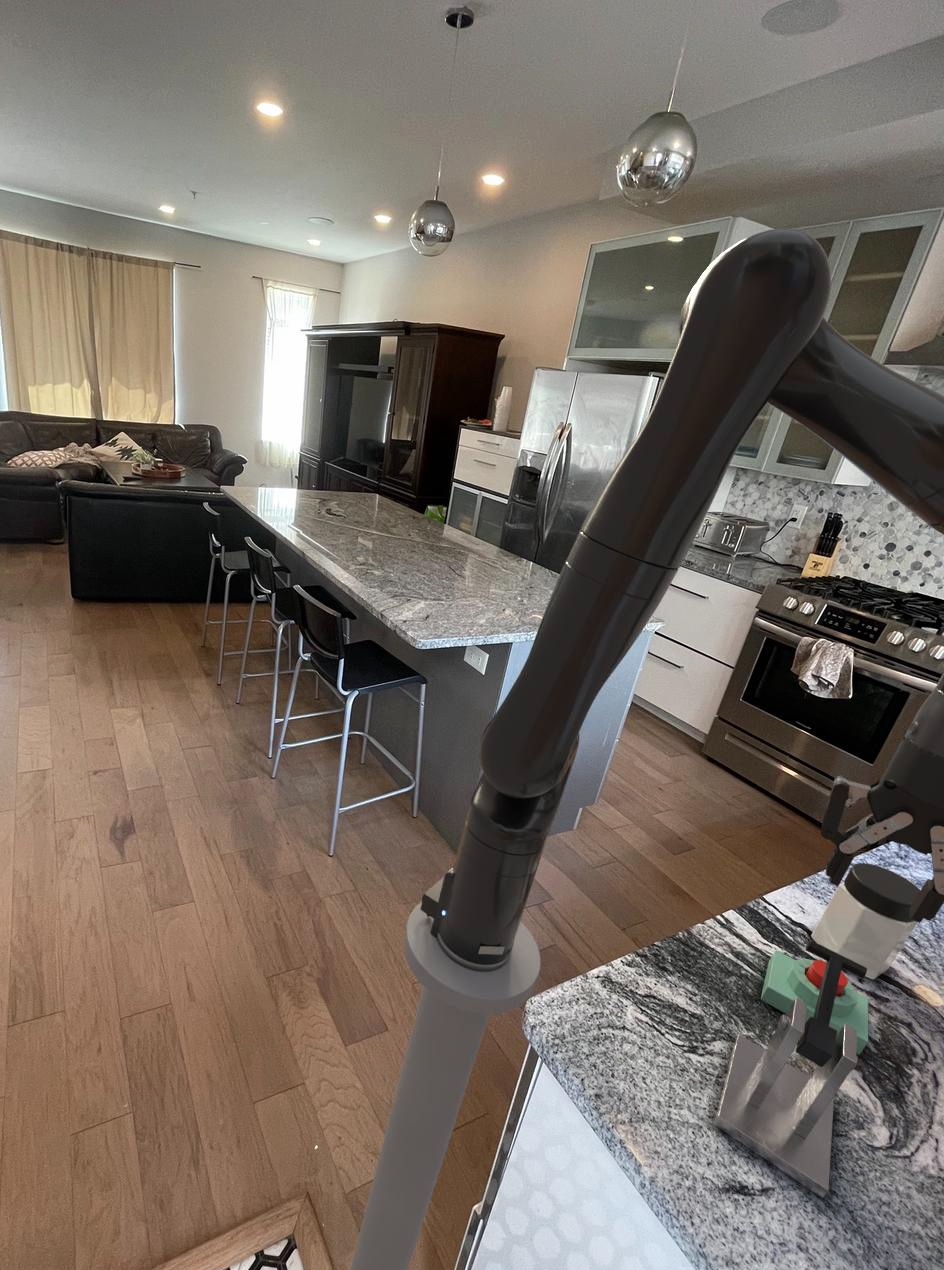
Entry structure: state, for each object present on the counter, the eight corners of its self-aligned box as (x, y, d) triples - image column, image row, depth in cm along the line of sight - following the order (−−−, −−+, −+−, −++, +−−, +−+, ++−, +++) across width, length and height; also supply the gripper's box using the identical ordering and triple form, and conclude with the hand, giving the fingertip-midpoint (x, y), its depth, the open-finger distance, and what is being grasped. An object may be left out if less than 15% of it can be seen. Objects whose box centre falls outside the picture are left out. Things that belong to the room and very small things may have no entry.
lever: (804, 946, 67) (813, 934, 65) (860, 974, 64) (870, 962, 63) (778, 1042, 60) (787, 1030, 58) (840, 1078, 57) (851, 1067, 56)
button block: (760, 999, 75) (773, 975, 74) (768, 962, 81) (780, 938, 80) (859, 1055, 70) (875, 1030, 68) (860, 1010, 76) (875, 986, 75)
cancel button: (805, 983, 74) (811, 972, 73) (807, 965, 77) (813, 954, 76) (840, 1002, 72) (847, 991, 71) (841, 983, 75) (848, 972, 74)
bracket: (734, 1041, 69) (777, 962, 65) (829, 1098, 64) (882, 1017, 60) (713, 1124, 60) (762, 1039, 55) (822, 1198, 55) (885, 1111, 51)
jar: (881, 950, 87) (923, 881, 82) (893, 990, 80) (940, 918, 76) (807, 919, 90) (844, 852, 86) (813, 955, 84) (853, 885, 79)
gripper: (1062, 769, 54) (962, 919, 60) (862, 706, 61) (792, 845, 68) (1085, 802, 48) (971, 964, 54) (861, 727, 56) (784, 877, 62)
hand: (872, 897), depth 61 cm, fingers open, 6 cm apart
